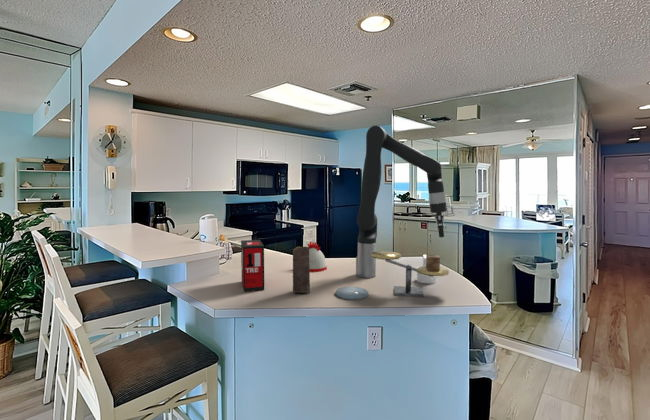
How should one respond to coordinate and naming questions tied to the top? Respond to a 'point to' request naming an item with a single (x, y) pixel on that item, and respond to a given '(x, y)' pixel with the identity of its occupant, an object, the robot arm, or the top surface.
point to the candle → (301, 270)
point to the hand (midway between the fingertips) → (441, 235)
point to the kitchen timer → (316, 258)
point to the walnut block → (433, 263)
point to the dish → (352, 293)
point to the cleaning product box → (252, 265)
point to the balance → (407, 273)
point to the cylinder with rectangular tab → (425, 278)
